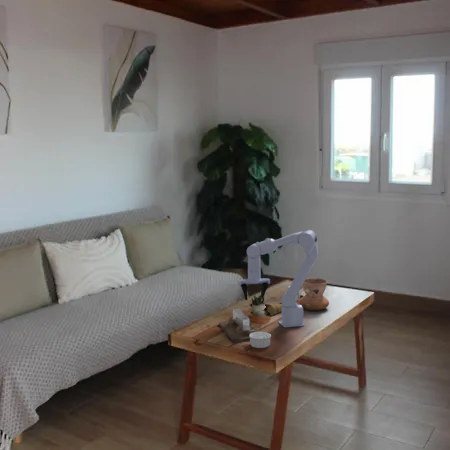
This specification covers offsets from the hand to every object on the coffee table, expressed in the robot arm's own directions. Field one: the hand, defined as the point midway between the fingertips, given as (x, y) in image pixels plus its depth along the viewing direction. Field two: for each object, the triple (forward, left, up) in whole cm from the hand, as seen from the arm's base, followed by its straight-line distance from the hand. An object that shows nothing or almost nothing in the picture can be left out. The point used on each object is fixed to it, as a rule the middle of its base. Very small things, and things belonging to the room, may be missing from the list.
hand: (254, 299), depth 279 cm
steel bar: (+10, +13, -7) cm, 18 cm away
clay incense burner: (-35, -12, -11) cm, 39 cm away
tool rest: (+10, +13, -10) cm, 19 cm away
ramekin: (+7, +31, -11) cm, 34 cm away
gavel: (-11, -17, -11) cm, 23 cm away
